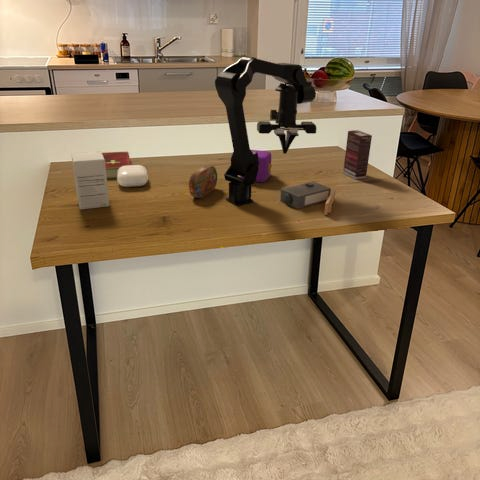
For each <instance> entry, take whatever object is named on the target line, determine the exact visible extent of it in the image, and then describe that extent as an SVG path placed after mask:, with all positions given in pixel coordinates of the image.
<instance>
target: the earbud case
mask: <svg viewBox="0 0 480 480" xmlns="http://www.w3.org/2000/svg"><path fill="white" fill-rule="evenodd" d="M148 176H149V175H148V171H147V169H146V167H145V166H143V165H141V164H130V165H126V166H122V167H120V168H119V169H118V171H117V177H116V180H117V184H118V185H120V186H121V187H123V188H124V187H125V188H128V187H129V188H130V187H131V188H133V187H142V186H145V185H146V183H148V179H149V177H148Z"/></svg>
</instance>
